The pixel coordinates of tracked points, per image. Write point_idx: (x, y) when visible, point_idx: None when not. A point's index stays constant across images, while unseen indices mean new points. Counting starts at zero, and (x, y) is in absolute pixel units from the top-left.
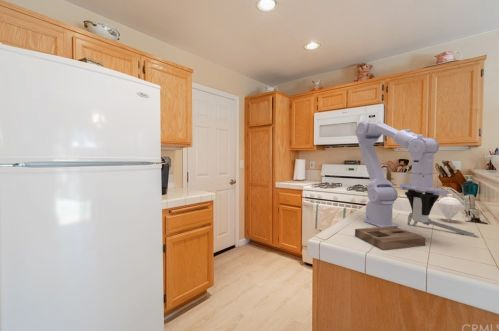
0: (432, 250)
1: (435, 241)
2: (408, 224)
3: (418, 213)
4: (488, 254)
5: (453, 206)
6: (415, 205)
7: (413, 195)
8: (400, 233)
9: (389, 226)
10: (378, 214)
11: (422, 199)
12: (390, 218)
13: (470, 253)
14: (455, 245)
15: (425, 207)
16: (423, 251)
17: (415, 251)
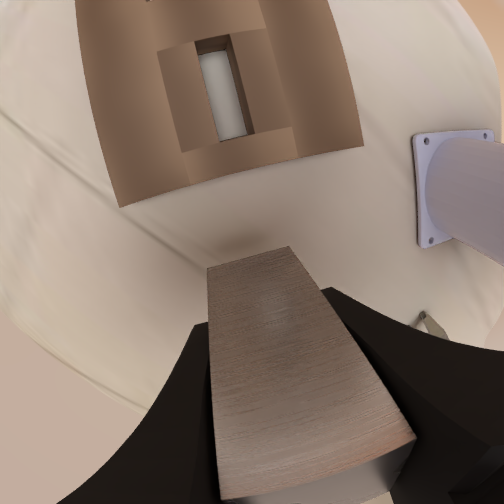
0: (72, 189)
1: (199, 293)
2: (422, 313)
3: (243, 301)
4: (89, 374)
5: None
6: (312, 348)
7: (435, 458)
8: (192, 82)
9: (350, 110)
10: (486, 151)
11: (157, 480)
12: (453, 216)
13: (78, 328)
14: (157, 340)
15: (164, 391)
16: (58, 134)
17: (58, 95)
